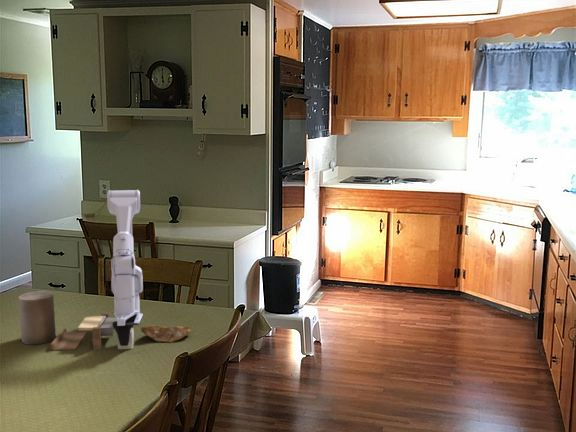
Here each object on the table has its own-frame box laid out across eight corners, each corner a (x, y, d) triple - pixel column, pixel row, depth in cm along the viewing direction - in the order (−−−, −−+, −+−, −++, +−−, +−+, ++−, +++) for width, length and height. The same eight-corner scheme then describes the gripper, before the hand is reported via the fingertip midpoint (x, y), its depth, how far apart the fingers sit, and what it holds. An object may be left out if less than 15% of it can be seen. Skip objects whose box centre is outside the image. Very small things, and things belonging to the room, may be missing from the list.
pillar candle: (63, 336, 192) (60, 288, 190) (38, 346, 183) (35, 296, 181) (39, 332, 196) (36, 285, 194) (13, 342, 187) (10, 292, 185)
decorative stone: (141, 318, 194) (190, 321, 198) (140, 332, 195) (189, 334, 198) (141, 328, 185) (192, 330, 189) (140, 342, 186) (191, 344, 189)
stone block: (120, 344, 186) (119, 328, 185) (134, 344, 186) (133, 327, 186) (117, 349, 182) (117, 332, 181) (132, 349, 182) (131, 332, 182)
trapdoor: (86, 324, 193) (86, 315, 193) (118, 324, 194) (118, 315, 194) (78, 337, 182) (77, 327, 182) (112, 336, 183) (111, 327, 183)
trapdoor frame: (63, 333, 195) (63, 313, 194) (109, 332, 196) (109, 312, 195) (50, 350, 180) (49, 329, 179) (100, 349, 182) (99, 328, 181)
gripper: (134, 303, 175) (136, 350, 177) (142, 289, 189) (143, 333, 191) (108, 304, 174) (110, 351, 176) (118, 289, 189) (119, 333, 191)
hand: (125, 341), depth 184 cm, fingers open, 5 cm apart
